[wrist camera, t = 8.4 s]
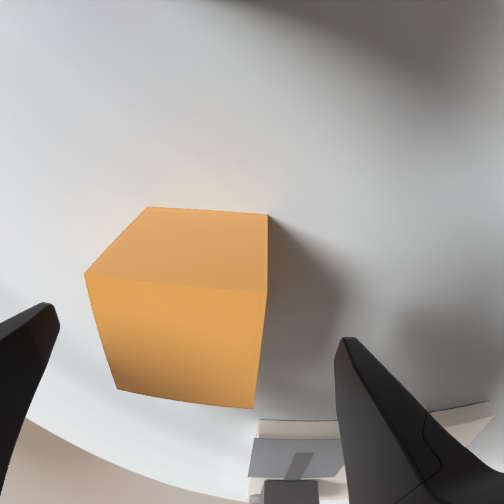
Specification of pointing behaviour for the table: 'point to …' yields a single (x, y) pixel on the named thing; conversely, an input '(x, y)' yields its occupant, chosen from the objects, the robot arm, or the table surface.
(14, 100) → the table surface
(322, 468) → the board
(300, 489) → the block
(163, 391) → the cap
